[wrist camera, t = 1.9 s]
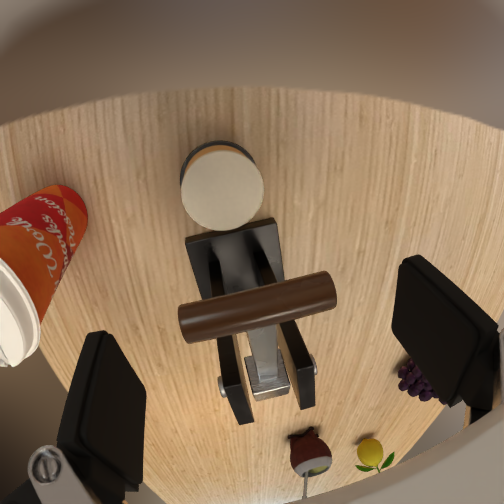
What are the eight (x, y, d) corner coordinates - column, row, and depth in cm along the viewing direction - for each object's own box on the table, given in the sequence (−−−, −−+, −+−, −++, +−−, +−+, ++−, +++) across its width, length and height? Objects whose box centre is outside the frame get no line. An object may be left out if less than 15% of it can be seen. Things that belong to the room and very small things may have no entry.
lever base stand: (185, 237, 27) (182, 366, 14) (273, 217, 27) (341, 327, 15) (209, 315, 31) (224, 443, 18) (284, 297, 32) (336, 415, 19)
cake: (172, 150, 23) (167, 159, 20) (250, 133, 24) (260, 139, 20) (190, 222, 26) (189, 242, 23) (262, 205, 27) (273, 223, 23)
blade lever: (173, 283, 10) (182, 352, 9) (320, 249, 10) (346, 311, 9) (227, 373, 20) (234, 406, 18) (299, 355, 20) (309, 387, 19)
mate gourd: (329, 425, 47) (356, 494, 34) (307, 445, 50) (329, 510, 37) (293, 425, 45) (318, 502, 32) (273, 446, 48) (292, 516, 35)
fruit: (394, 339, 44) (470, 326, 42) (386, 386, 47) (456, 372, 45) (413, 382, 34) (496, 361, 32) (399, 428, 38) (476, 408, 36)
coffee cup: (108, 251, 26) (56, 378, 13) (37, 260, 25) (-34, 370, 12) (89, 161, 22) (-12, 237, 9) (14, 180, 21) (-93, 258, 8)
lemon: (382, 427, 54) (400, 463, 45) (372, 440, 56) (387, 474, 48) (356, 435, 53) (373, 473, 44) (346, 447, 55) (361, 483, 46)
